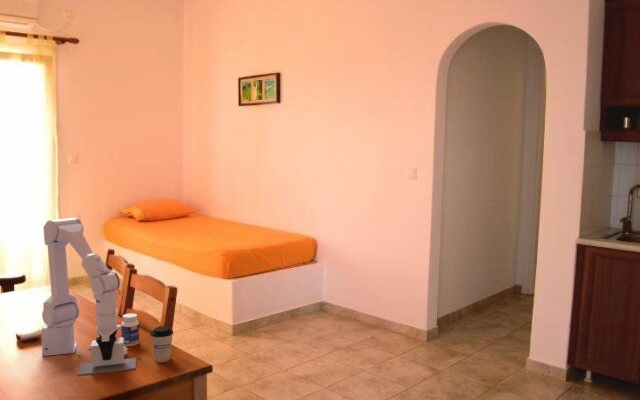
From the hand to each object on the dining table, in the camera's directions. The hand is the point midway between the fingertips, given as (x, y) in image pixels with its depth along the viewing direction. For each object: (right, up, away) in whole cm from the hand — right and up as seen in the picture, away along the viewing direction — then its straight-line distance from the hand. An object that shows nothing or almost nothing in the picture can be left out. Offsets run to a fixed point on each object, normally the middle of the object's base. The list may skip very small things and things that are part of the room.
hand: (107, 356), depth 163 cm
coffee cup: (+15, -3, +7) cm, 16 cm away
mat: (0, -3, 0) cm, 3 cm away
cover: (0, -1, 0) cm, 1 cm away
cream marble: (+1, -3, +10) cm, 10 cm away
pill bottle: (0, -2, +20) cm, 20 cm away
